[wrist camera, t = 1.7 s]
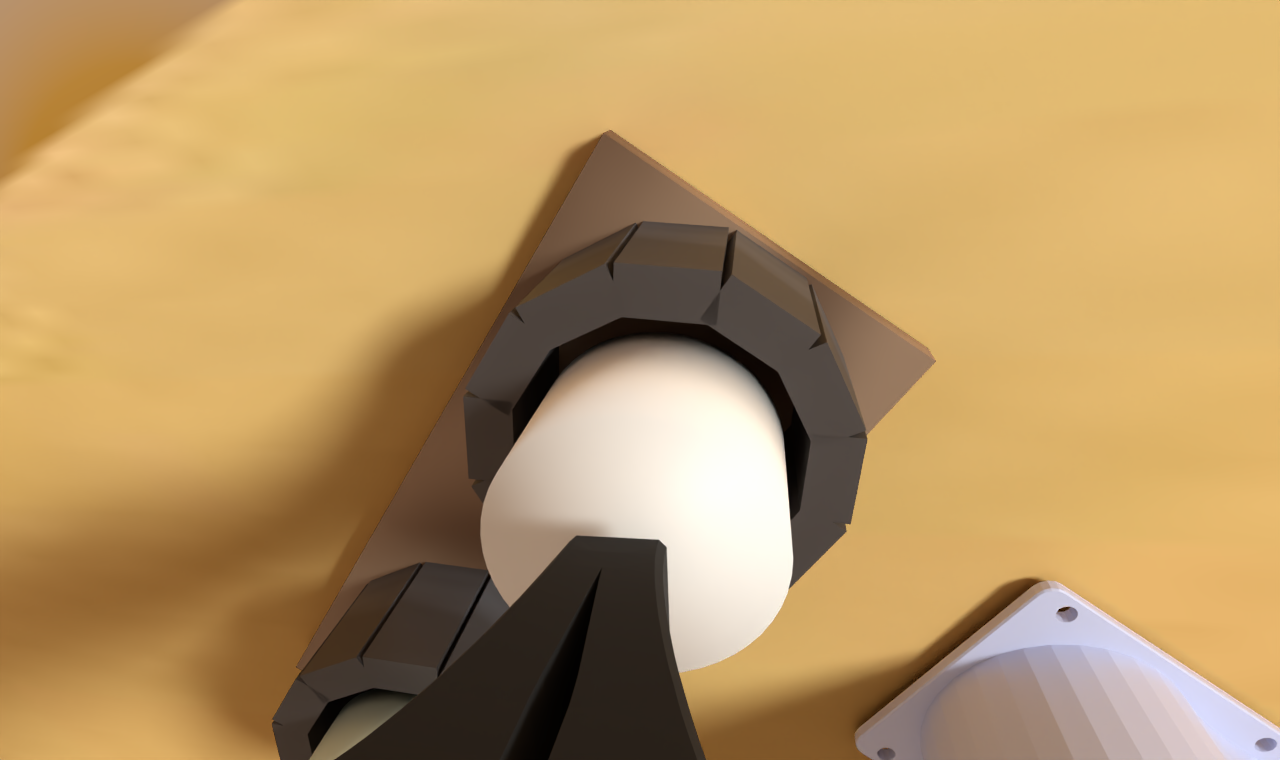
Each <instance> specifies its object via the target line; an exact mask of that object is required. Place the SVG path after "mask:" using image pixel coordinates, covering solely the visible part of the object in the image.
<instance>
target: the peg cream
mask: <svg viewBox="0 0 1280 760" xmlns="http://www.w3.org/2000/svg"><path fill="white" fill-rule="evenodd" d="M576 535H579V536H598V537H617V538H637V539H656V540H660V541H661V542H662V543H663V544H664V545H665V546H666V547H667V569H668V597H669V626H670V635H671V640H672V645H673V650H674V655H675V659H676V663H677V667H678V671H679V672H685V671H690V670H695V669H699V668H703V667H706V666H709V665H712V664H715V663H717V662H720V661H722V660H724V659H726V658H728V657H730V656H732V655H734V654H736V653H737V652H739V651H740V650H742V649H743V648H745V647H747V646H748V645H749V644H750V643H752V642H753V641H754V640H755V639H756V638H757V637H759V636H760V635H761V634H762V633H763V632H764V630H765V629H766V628H767V627H768V626H769V625H770V624H771V622H772V621H773V620H774V618H775V616H776V615H777V613H778V612H779V610H780V609H781V607H782V604H783V602H784V600H785V597H786V595H787V593H788V589H789V585H790V581H791V577H792V568H793V549H792V537H791V524H790V512H789V499H788V486H787V474H786V461H785V449H784V437H783V430H782V425H781V421H780V417H779V415H778V412H777V410H776V407H775V405H774V403H773V401H772V399H771V397H770V396H769V394H768V392H767V391H766V389H765V388H764V386H763V385H762V384H761V383H760V381H759V380H758V379H757V377H756V376H755V375H754V374H753V373H752V372H751V371H750V370H749V369H748V368H747V367H746V366H745V365H743V364H742V363H741V362H739V361H738V360H737V359H735V358H734V357H733V356H731V355H730V354H728V353H726V352H725V351H723V350H721V349H720V348H718V347H716V346H714V345H711V344H709V343H707V342H704V341H702V340H699V339H696V338H692V337H689V336H685V335H680V334H674V333H667V332H642V333H632V334H628V335H623V336H619V337H615V338H612V339H610V340H607V341H604V342H602V343H599V344H598V345H596V346H594V347H592V348H590V349H588V350H586V351H585V352H584V353H582V354H581V355H580V356H578V357H577V358H575V359H574V360H573V361H572V362H571V363H570V364H569V365H568V366H567V367H566V368H565V369H564V370H563V371H562V373H561V374H560V375H559V377H558V378H557V379H556V380H555V382H554V383H553V385H552V387H551V388H550V390H549V391H548V393H547V394H546V396H545V398H544V399H543V401H542V402H541V404H540V405H539V407H538V409H537V410H536V412H535V413H534V415H533V416H532V418H531V420H530V421H529V423H528V424H527V426H526V427H525V429H524V431H523V432H522V434H521V435H520V437H519V438H518V440H517V442H516V443H515V445H514V446H513V448H512V449H511V451H510V453H509V454H508V456H507V457H506V459H505V460H504V462H503V464H502V465H501V467H500V468H499V470H498V472H497V473H496V475H495V477H494V479H493V481H492V482H491V484H490V486H489V489H488V491H487V494H486V497H485V500H484V503H483V509H482V514H481V529H480V536H481V544H482V551H483V555H484V559H485V562H486V566H487V569H488V571H489V573H490V576H491V578H492V580H493V582H494V584H495V586H496V588H497V589H498V591H499V593H500V594H501V596H502V598H503V599H504V600H505V602H506V603H507V604H508V606H509V607H510V606H511V605H512V604H513V603H514V602H515V601H516V600H517V599H518V598H519V597H520V596H521V595H522V594H523V593H524V592H525V591H526V590H527V588H528V587H529V586H530V585H531V584H532V583H533V582H534V581H535V580H536V579H537V577H538V576H539V575H540V574H541V573H542V572H543V571H544V570H545V569H546V567H547V566H548V565H549V564H550V563H551V562H552V561H553V559H554V558H555V557H556V556H557V555H558V554H559V553H560V551H561V550H562V549H563V548H564V547H565V546H566V545H567V544H568V542H569V541H571V540H572V539H573V538H574V537H575V536H576Z"/></svg>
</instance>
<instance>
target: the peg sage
mask: <svg viewBox="0 0 1280 760" xmlns="http://www.w3.org/2000/svg"><path fill="white" fill-rule="evenodd" d="M416 696H417V695H416V694H410V693H404V692H397V691H391V690H385V689H378V688H377V689H373V690H369V691H366V692H364V693H361V694H359V695H358V696H356V697H354V698H352V699H351V700H350V701H349V702H348V703H346V705H345V706H344V707H343V708H342V710H341V711H340V712H339V714H338V716H337V717H336V719H335V720H334V722H333V723H332V725H331V726H330V728H329V730H328V731H327V733H326V734H325V736H324V737H323V739H322V740H321V742H320V744H319V745H318V747H317V748H316V750H315V751H314V753H313V754H312V756H311V758H310V759H309V760H334V759H336V758H337V757H339V756H340V755H342V754H343V753H345V752H346V751H347V750H349V749H350V748H352V747H353V746H354V745H356V744H357V743H358V742H360V741H361V740H363V739H364V738H365V737H367V736H368V735H369V734H370V733H372V732H373V731H374V730H376V729H377V728H378V727H379V726H381V725H382V724H383V723H384V722H386V721H387V720H388V719H389V718H390V717H392V716H393V715H394V714H395V713H397V712H398V711H399V710H400V709H402V708H403V707H404V706H405V705H406V704H408V703H409V702H410V701H411V700H412V699H414V698H415V697H416Z"/></svg>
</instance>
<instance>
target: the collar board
mask: <svg viewBox="0 0 1280 760" xmlns="http://www.w3.org/2000/svg"><path fill="white" fill-rule="evenodd" d="M642 332H667V333H674V334H680V335H685V336H689V337H692V338H696V339H699V340H702V341H704V342H707V343H709V344H711V345H714V346H716V347H718V348H720V349H721V350H723V351H725V352H726V353H728V354H730V355H731V356H733V357H734V358H735V359H737V360H738V361H739V362H741V363H742V364H743V365H745V366H746V367H747V368H748V369H749V370H750V371H751V372H752V373H753V374H754V375H755V376H756V377H757V379H758V380H759V381H760V383H761V384H762V385H763V386H764V388H765V389H766V391H767V392H768V394H769V396H770V397H771V399H772V401H773V403H774V405H775V407H776V410H777V412H778V415H779V417H780V421H781V425H782V430H783V437H784V449H785V461H786V474H787V486H788V499H789V512H790V524H791V537H792V549H793V568H792V577H791V581H790V585H789V588H790V587H791V586H792V585H793V584H794V583H795V582H796V581H797V580H798V579H799V578H800V577H801V576H802V575H803V574H804V573H805V572H806V571H807V570H808V569H809V568H810V567H811V566H812V565H813V564H814V563H815V562H816V561H817V560H818V559H819V558H820V557H821V556H822V555H823V554H824V553H825V552H826V551H827V550H828V549H829V548H830V547H831V546H832V545H833V544H834V543H835V542H836V541H837V540H838V539H839V538H840V537H841V536H842V535H843V534H844V533H845V532H846V526H845V524H851V519H852V514H853V509H854V504H855V499H856V494H857V489H858V484H859V479H860V474H861V469H862V464H863V459H864V454H865V449H866V444H867V436H866V435H867V434H868V433H869V432H870V431H871V430H872V429H873V428H874V427H875V426H876V425H877V424H878V422H879V421H880V420H881V419H882V418H883V417H884V416H885V415H886V414H887V413H888V412H889V411H890V410H891V409H892V407H893V406H894V405H895V404H896V403H897V402H898V401H899V400H900V399H901V398H902V397H903V396H904V395H905V394H906V393H907V391H908V390H909V389H910V388H911V387H912V386H913V385H914V384H915V383H916V382H917V381H918V380H919V379H920V378H921V377H922V375H923V374H924V373H925V372H926V371H927V370H928V369H929V368H930V367H931V366H932V365H933V364H934V363H935V362H936V360H935V359H934V357H933V356H932V354H931V352H930V351H929V349H928V348H927V347H925V346H924V345H922V344H921V343H919V342H918V341H916V340H915V339H914V338H912V337H911V336H909V335H908V334H906V333H905V332H903V331H902V330H900V329H899V328H898V327H896V326H895V325H893V324H892V323H890V322H889V321H887V320H886V319H884V318H883V317H882V316H880V315H879V314H877V313H876V312H874V311H873V310H871V309H870V308H868V307H867V306H866V305H864V304H863V303H861V302H860V301H858V300H857V299H855V298H854V297H852V296H851V295H850V294H848V293H847V292H845V291H844V290H842V289H841V288H839V287H838V286H837V285H835V284H834V283H832V282H831V281H829V280H828V279H826V278H825V277H823V276H822V275H821V274H819V273H818V272H816V271H815V270H813V269H812V268H810V267H809V266H807V265H806V264H805V263H803V262H802V261H800V260H799V259H797V258H796V257H794V256H793V255H791V254H790V253H789V252H787V251H786V250H784V249H783V248H781V247H780V246H778V245H777V244H775V243H774V242H773V241H771V240H770V239H768V238H767V237H765V236H764V235H762V234H761V233H759V232H758V231H757V230H755V229H754V228H752V227H751V226H749V225H748V224H746V223H745V222H743V221H742V220H741V219H739V218H738V217H736V216H735V215H733V214H732V213H730V212H729V211H727V210H726V209H725V208H723V207H722V206H720V205H719V204H717V203H716V202H714V201H713V200H711V199H710V198H709V197H707V196H706V195H704V194H703V193H701V192H700V191H698V190H697V189H696V188H694V187H693V186H691V185H690V184H688V183H687V182H685V181H684V180H682V179H681V178H680V177H678V176H677V175H675V174H674V173H672V172H671V171H669V170H668V169H666V168H665V167H664V166H662V165H661V164H659V163H658V162H656V161H655V160H653V159H652V158H650V157H649V156H648V155H646V154H645V153H643V152H642V151H640V150H639V149H637V148H636V147H634V146H633V145H632V144H630V143H629V142H627V141H626V140H624V139H623V138H621V137H620V136H618V135H617V134H616V133H614V132H613V131H611V130H609V131H607V132H605V133H603V135H602V137H601V138H600V140H599V142H598V144H597V145H596V147H595V149H594V151H593V152H592V154H591V156H590V158H589V159H588V161H587V163H586V165H585V166H584V168H583V170H582V171H581V173H580V175H579V177H578V178H577V180H576V182H575V184H574V185H573V187H572V189H571V191H570V192H569V194H568V196H567V197H566V199H565V201H564V203H563V204H562V206H561V208H560V210H559V211H558V213H557V215H556V217H555V218H554V220H553V222H552V224H551V225H550V227H549V229H548V230H547V232H546V234H545V236H544V237H543V239H542V241H541V243H540V244H539V246H538V248H537V250H536V251H535V253H534V255H533V257H532V258H531V260H530V262H529V263H528V265H527V267H526V269H525V270H524V272H523V274H522V276H521V277H520V279H519V281H518V283H517V284H516V286H515V288H514V290H513V291H512V293H511V295H510V296H509V298H508V300H507V302H506V303H505V305H504V307H503V309H502V310H501V312H500V314H499V316H498V317H497V319H496V321H495V323H494V324H493V326H492V328H491V329H490V331H489V333H488V335H487V336H486V338H485V340H484V342H483V343H482V345H481V347H480V349H479V350H478V352H477V354H476V355H475V357H474V359H473V361H472V362H471V364H470V366H469V368H468V369H467V371H466V373H465V375H464V376H463V378H462V380H461V382H460V383H459V385H458V387H457V388H456V390H455V392H454V394H453V395H452V397H451V399H450V401H449V402H448V404H447V406H446V408H445V409H444V411H443V413H442V415H441V416H440V418H439V420H438V421H437V423H436V425H435V427H434V428H433V430H432V432H431V434H430V435H429V437H428V439H427V441H426V442H425V444H424V446H423V448H422V449H421V451H420V453H419V454H418V456H417V458H416V460H415V461H414V463H413V465H412V467H411V468H410V470H409V472H408V474H407V475H406V477H405V479H404V481H403V482H402V484H401V486H400V487H399V489H398V491H397V493H396V494H395V496H394V498H393V500H392V501H391V503H390V505H389V507H388V508H387V510H386V512H385V513H384V515H383V517H382V519H381V520H380V522H379V524H378V526H377V527H376V529H375V531H374V533H373V534H372V536H371V538H370V540H369V541H368V543H367V545H366V546H365V548H364V550H363V552H362V553H361V555H360V557H359V559H358V560H357V562H356V564H355V566H354V567H353V569H352V571H351V573H350V574H349V576H348V578H347V579H346V581H345V583H344V585H343V586H342V588H341V590H340V592H339V593H338V595H337V597H336V599H335V600H334V602H333V604H332V606H331V607H330V609H329V611H328V612H327V614H326V616H325V618H324V619H323V621H322V623H321V625H320V626H319V628H318V630H317V632H316V633H315V635H314V637H313V638H312V640H311V642H310V644H309V645H308V647H307V649H306V651H305V652H304V654H303V656H302V658H301V659H300V661H299V663H298V665H297V666H296V667H297V668H298V669H300V670H302V671H301V673H300V674H299V675H298V677H297V678H296V679H295V681H294V683H293V685H292V686H291V688H290V690H289V691H288V693H287V695H286V697H285V698H284V700H283V702H282V703H281V705H280V707H279V709H278V710H277V712H276V714H275V715H274V717H273V720H274V721H273V723H272V727H273V731H274V735H275V739H276V743H277V748H278V752H279V756H280V760H309V759H310V758H311V756H312V754H313V753H314V751H315V750H316V748H317V747H318V745H319V744H320V742H321V740H322V739H323V737H324V736H325V734H326V733H327V731H328V730H329V728H330V726H331V725H332V723H333V722H334V720H335V719H336V717H337V716H338V714H339V712H340V711H341V710H342V708H343V707H344V706H345V705H346V703H348V702H349V701H350V700H351V699H352V698H354V697H356V696H358V695H359V694H361V693H364V692H366V691H369V690H373V689H377V688H378V689H385V690H391V691H397V692H404V693H410V694H416V695H418V694H419V693H421V692H422V691H423V690H424V689H425V688H426V687H428V686H429V685H430V684H431V683H432V682H433V681H434V680H435V679H437V678H438V677H439V676H440V675H441V674H442V673H443V672H444V671H445V670H446V669H447V668H448V667H449V666H451V665H452V664H453V663H454V662H455V661H456V660H457V659H458V658H459V657H460V656H461V655H462V654H463V653H464V652H465V651H467V650H468V649H469V648H470V647H471V646H472V645H473V644H474V643H475V642H476V641H477V640H478V639H479V638H480V637H481V636H482V635H483V634H484V633H485V632H486V631H487V630H488V629H489V628H490V627H491V626H492V625H493V624H494V623H495V622H496V621H497V620H498V619H499V618H500V617H501V616H502V615H503V614H504V613H505V612H506V611H507V610H508V609H509V608H510V607H509V606H508V604H507V603H506V602H505V600H504V599H503V598H502V596H501V594H500V593H499V591H498V589H497V588H496V586H495V584H494V582H493V580H492V578H491V576H490V573H489V571H488V569H487V566H486V562H485V559H484V555H483V551H482V544H481V536H480V529H481V514H482V509H483V503H484V500H485V497H486V494H487V491H488V489H489V486H490V484H491V482H492V481H493V479H494V477H495V475H496V473H497V472H498V470H499V468H500V467H501V465H502V464H503V462H504V460H505V459H506V457H507V456H508V454H509V453H510V451H511V449H512V448H513V446H514V445H515V443H516V442H517V440H518V438H519V437H520V435H521V434H522V432H523V431H524V429H525V427H526V426H527V424H528V423H529V421H530V420H531V418H532V416H533V415H534V413H535V412H536V410H537V409H538V407H539V405H540V404H541V402H542V401H543V399H544V398H545V396H546V394H547V393H548V391H549V390H550V388H551V387H552V385H553V383H554V382H555V380H556V379H557V378H558V377H559V375H560V374H561V373H562V371H563V370H564V369H565V368H566V367H567V366H568V365H569V364H570V363H571V362H572V361H573V360H574V359H575V358H577V357H578V356H580V355H581V354H582V353H584V352H585V351H586V350H588V349H590V348H592V347H594V346H596V345H598V344H599V343H602V342H604V341H607V340H610V339H612V338H615V337H619V336H623V335H628V334H632V333H642Z"/></svg>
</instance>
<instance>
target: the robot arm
mask: <svg viewBox="0 0 1280 760" xmlns="http://www.w3.org/2000/svg"><path fill="white" fill-rule="evenodd" d="M1063 607H1070V608H1069V609H1068V610H1066V611H1064V612H1057V611H1058V610H1059V609H1061V608H1063ZM855 743H856V747H857V749H858V750H859V751H860V752H861V753H862V754H864V755H866V756H867V757H869V758H871V759H872V760H1280V728H1279V727H1277V726H1276V725H1274V724H1273V723H1271V722H1270V721H1268V720H1267V719H1265V718H1264V717H1262V716H1261V715H1259V714H1258V713H1256V712H1255V711H1253V710H1252V709H1250V708H1249V707H1247V706H1245V705H1244V704H1242V703H1241V702H1239V701H1238V700H1236V699H1235V698H1233V697H1232V696H1230V695H1229V694H1227V693H1226V692H1224V691H1223V690H1221V689H1220V688H1218V687H1217V686H1215V685H1214V684H1212V683H1211V682H1209V681H1208V680H1206V679H1205V678H1203V677H1202V676H1200V675H1199V674H1197V673H1196V672H1194V671H1192V670H1191V669H1189V668H1188V667H1186V666H1185V665H1183V664H1182V663H1180V662H1179V661H1177V660H1176V659H1174V658H1173V657H1171V656H1170V655H1168V654H1167V653H1165V652H1164V651H1162V650H1161V649H1159V648H1158V647H1156V646H1155V645H1153V644H1152V643H1150V642H1149V641H1147V640H1146V639H1144V638H1143V637H1141V636H1140V635H1138V634H1136V633H1135V632H1133V631H1132V630H1130V629H1129V628H1127V627H1126V626H1124V625H1123V624H1121V623H1120V622H1118V621H1117V620H1115V619H1114V618H1112V617H1111V616H1109V615H1108V614H1106V613H1105V612H1103V611H1102V610H1100V609H1099V608H1097V607H1096V606H1094V605H1093V604H1091V603H1090V602H1088V601H1087V600H1085V599H1084V598H1082V597H1080V596H1079V595H1077V594H1076V593H1074V592H1073V591H1071V590H1070V589H1068V588H1067V587H1065V586H1064V585H1062V584H1060V583H1058V582H1056V581H1043V582H1039V583H1037V584H1035V585H1034V586H1032V587H1031V588H1030V589H1028V590H1027V591H1026V592H1025V593H1023V594H1022V595H1021V596H1020V597H1018V598H1017V599H1016V600H1015V601H1014V602H1012V603H1011V604H1010V605H1009V606H1007V607H1006V608H1005V609H1004V610H1003V611H1001V612H1000V613H999V614H998V615H996V616H995V617H994V618H993V619H992V620H990V621H989V622H988V623H987V624H985V625H984V626H983V627H982V628H980V629H979V630H978V631H977V632H976V633H974V634H973V635H972V636H971V637H969V638H968V639H967V640H966V641H965V642H963V643H962V644H961V645H960V646H958V647H957V648H956V649H955V650H954V651H952V652H951V653H950V654H949V655H947V656H946V657H945V658H944V659H942V660H941V661H940V662H939V663H938V664H936V665H935V666H934V667H933V668H931V669H930V670H929V671H928V672H927V673H925V674H924V675H923V676H922V677H920V678H919V679H918V680H917V681H915V682H914V683H913V684H912V685H911V686H909V687H908V688H907V689H906V690H904V691H903V692H902V693H901V694H900V695H898V696H897V697H896V698H895V699H893V700H892V701H891V702H890V703H889V704H887V705H886V706H885V707H884V708H882V709H881V710H880V711H879V712H877V713H876V714H875V715H874V716H873V717H871V718H870V719H869V720H868V721H866V722H865V723H864V724H863V725H862V726H860V727H859V728H858V729H857V730H856V732H855ZM882 748H888V749H882ZM334 760H706V758H705V755H704V753H703V750H702V747H701V744H700V742H699V739H698V736H697V732H696V729H695V726H694V723H693V720H692V717H691V714H690V710H689V707H688V704H687V700H686V697H685V693H684V690H683V686H682V682H681V679H680V675H679V671H678V667H677V663H676V659H675V655H674V650H673V645H672V640H671V635H670V626H669V597H668V569H667V547H666V546H665V545H664V544H663V543H662V542H661V541H660V540H656V539H637V538H617V537H598V536H579V535H576V536H575V537H574V538H573V539H572V540H571V541H569V542H568V544H567V545H566V546H565V547H564V548H563V549H562V550H561V551H560V553H559V554H558V555H557V556H556V557H555V558H554V559H553V561H552V562H551V563H550V564H549V565H548V566H547V567H546V569H545V570H544V571H543V572H542V573H541V574H540V575H539V576H538V577H537V579H536V580H535V581H534V582H533V583H532V584H531V585H530V586H529V587H528V588H527V590H526V591H525V592H524V593H523V594H522V595H521V596H520V597H519V598H518V599H517V600H516V601H515V602H514V603H513V604H512V605H511V606H510V608H509V609H508V610H507V611H506V612H505V613H504V614H503V615H502V616H501V617H500V618H499V619H498V620H497V621H496V622H495V623H494V624H493V625H492V626H491V627H490V628H489V629H488V630H487V631H486V632H485V633H484V634H483V635H482V636H481V637H480V638H479V639H478V640H477V641H476V642H475V643H474V644H473V645H472V646H471V647H470V648H469V649H468V650H467V651H465V652H464V653H463V654H462V655H461V656H460V657H459V658H458V659H457V660H456V661H455V662H454V663H453V664H452V665H451V666H449V667H448V668H447V669H446V670H445V671H444V672H443V673H442V674H441V675H440V676H439V677H438V678H437V679H435V680H434V681H433V682H432V683H431V684H430V685H429V686H428V687H426V688H425V689H424V690H423V691H422V692H421V693H419V694H418V695H417V696H416V697H415V698H414V699H412V700H411V701H410V702H409V703H408V704H406V705H405V706H404V707H403V708H402V709H400V710H399V711H398V712H397V713H395V714H394V715H393V716H392V717H390V718H389V719H388V720H387V721H386V722H384V723H383V724H382V725H381V726H379V727H378V728H377V729H376V730H374V731H373V732H372V733H370V734H369V735H368V736H367V737H365V738H364V739H363V740H361V741H360V742H358V743H357V744H356V745H354V746H353V747H352V748H350V749H349V750H347V751H346V752H345V753H343V754H342V755H340V756H339V757H337V758H336V759H334Z"/></svg>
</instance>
